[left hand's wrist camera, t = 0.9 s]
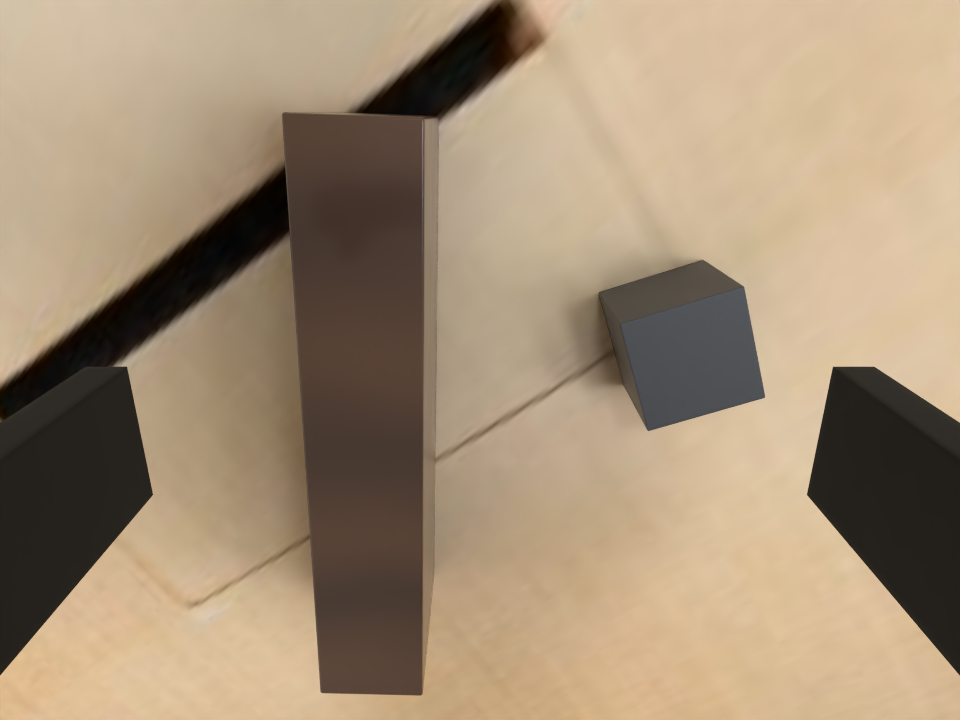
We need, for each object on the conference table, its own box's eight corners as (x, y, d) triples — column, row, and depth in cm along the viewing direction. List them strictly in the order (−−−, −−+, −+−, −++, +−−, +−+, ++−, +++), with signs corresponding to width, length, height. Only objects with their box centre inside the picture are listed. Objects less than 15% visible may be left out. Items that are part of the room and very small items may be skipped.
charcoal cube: (598, 292, 31) (619, 324, 26) (703, 259, 30) (744, 286, 26) (623, 385, 33) (647, 431, 28) (723, 356, 32) (765, 398, 27)
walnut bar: (333, 112, 28) (280, 112, 21) (439, 115, 28) (424, 117, 21) (352, 575, 37) (320, 693, 29) (433, 577, 37) (422, 696, 29)
